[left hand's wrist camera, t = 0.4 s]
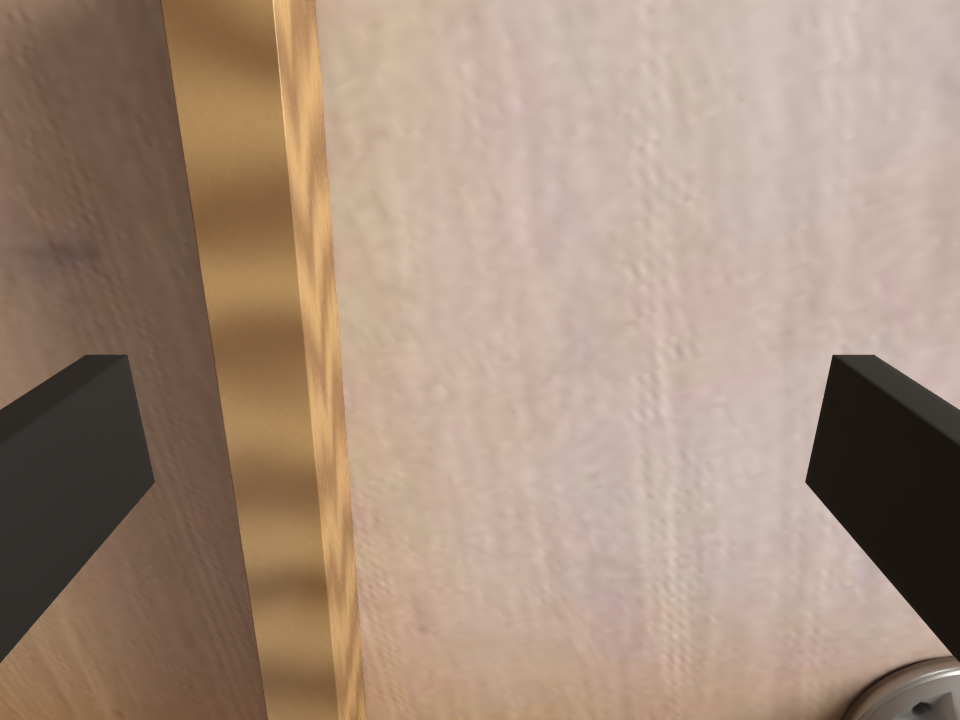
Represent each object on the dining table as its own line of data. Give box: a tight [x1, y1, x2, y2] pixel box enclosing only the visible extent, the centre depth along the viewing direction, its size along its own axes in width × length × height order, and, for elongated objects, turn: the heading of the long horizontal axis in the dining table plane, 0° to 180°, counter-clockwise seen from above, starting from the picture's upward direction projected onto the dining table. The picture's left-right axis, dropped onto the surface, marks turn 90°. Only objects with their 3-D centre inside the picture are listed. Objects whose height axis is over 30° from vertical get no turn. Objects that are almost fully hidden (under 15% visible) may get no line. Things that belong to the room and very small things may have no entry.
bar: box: [161, 0, 366, 720], centre depth 37 cm, size 53×4×7 cm, turn 179°
